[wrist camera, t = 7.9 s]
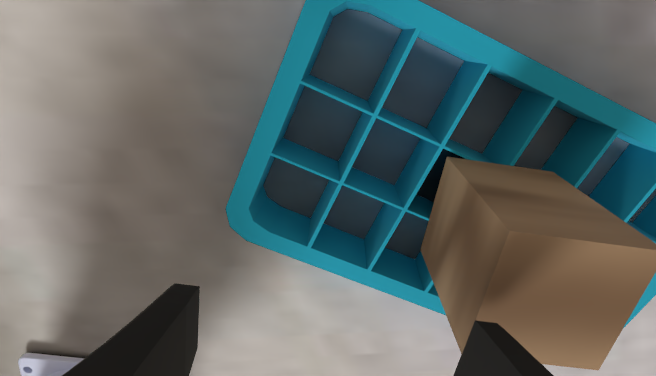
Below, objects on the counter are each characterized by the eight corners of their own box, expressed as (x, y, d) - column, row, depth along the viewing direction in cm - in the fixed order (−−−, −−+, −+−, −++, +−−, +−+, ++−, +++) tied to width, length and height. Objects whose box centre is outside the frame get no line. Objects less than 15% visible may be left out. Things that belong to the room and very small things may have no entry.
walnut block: (515, 262, 18) (598, 370, 13) (420, 249, 18) (462, 354, 12) (552, 171, 16) (667, 251, 11) (446, 156, 16) (509, 231, 10)
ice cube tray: (555, 326, 23) (585, 367, 21) (232, 200, 20) (217, 229, 17) (703, 157, 19) (766, 180, 16) (325, -38, 16) (324, -49, 13)
